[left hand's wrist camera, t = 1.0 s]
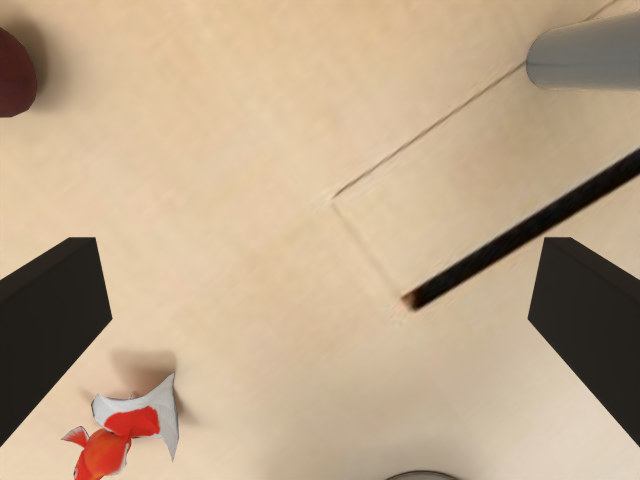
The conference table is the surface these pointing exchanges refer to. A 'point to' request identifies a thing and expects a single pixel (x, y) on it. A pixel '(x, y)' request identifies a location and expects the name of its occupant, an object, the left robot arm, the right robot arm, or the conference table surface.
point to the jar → (589, 55)
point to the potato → (15, 77)
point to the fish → (125, 430)
